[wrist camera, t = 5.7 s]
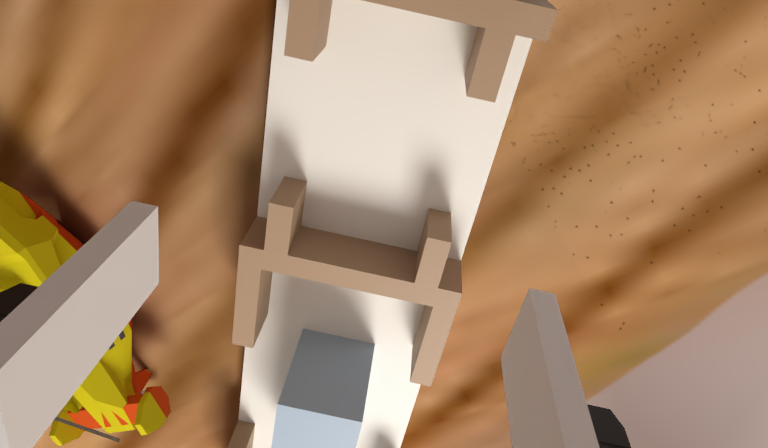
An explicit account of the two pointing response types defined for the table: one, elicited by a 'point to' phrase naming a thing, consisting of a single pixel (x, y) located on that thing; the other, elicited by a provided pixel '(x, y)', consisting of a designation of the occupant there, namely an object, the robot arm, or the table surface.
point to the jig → (372, 189)
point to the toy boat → (115, 369)
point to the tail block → (324, 393)
